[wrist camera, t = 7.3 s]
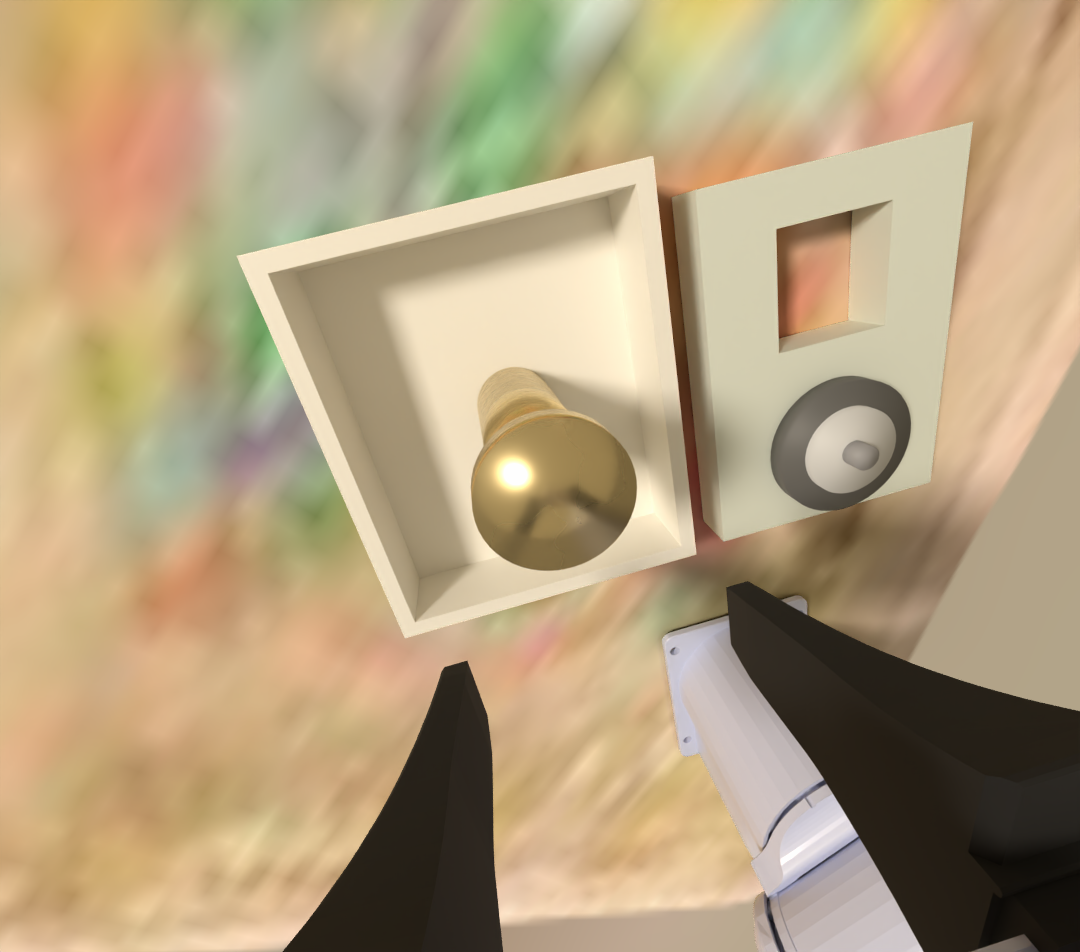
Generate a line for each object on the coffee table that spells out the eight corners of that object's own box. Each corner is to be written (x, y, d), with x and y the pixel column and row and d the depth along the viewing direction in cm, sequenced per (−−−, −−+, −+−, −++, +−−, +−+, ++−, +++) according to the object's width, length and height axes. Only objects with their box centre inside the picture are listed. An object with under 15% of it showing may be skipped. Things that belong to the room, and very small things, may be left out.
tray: (663, 515, 24) (696, 554, 20) (411, 586, 23) (404, 638, 20) (617, 175, 18) (653, 155, 15) (277, 257, 17) (236, 255, 14)
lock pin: (572, 438, 21) (646, 546, 13) (479, 462, 21) (495, 588, 13) (553, 342, 19) (624, 399, 11) (451, 368, 19) (451, 444, 11)
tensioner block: (894, 466, 25) (973, 502, 21) (703, 520, 24) (748, 567, 20) (923, 135, 19) (1038, 103, 15) (671, 197, 18) (726, 180, 15)
